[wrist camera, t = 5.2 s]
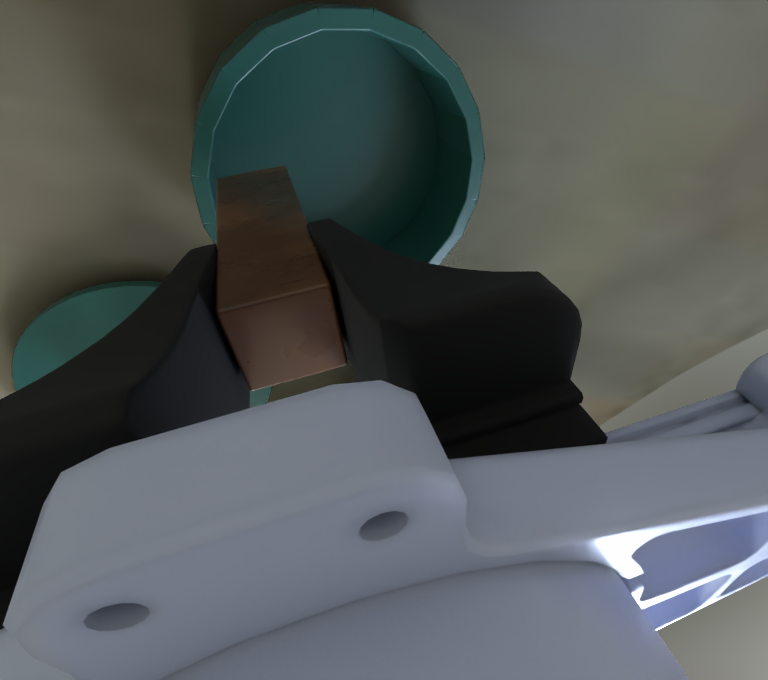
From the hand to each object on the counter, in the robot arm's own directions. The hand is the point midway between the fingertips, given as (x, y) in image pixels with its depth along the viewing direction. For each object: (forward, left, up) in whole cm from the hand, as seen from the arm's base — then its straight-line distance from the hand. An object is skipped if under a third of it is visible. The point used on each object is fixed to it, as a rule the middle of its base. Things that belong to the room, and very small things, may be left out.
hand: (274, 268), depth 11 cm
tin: (-2, -3, -10) cm, 11 cm away
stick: (0, 0, -4) cm, 4 cm away
